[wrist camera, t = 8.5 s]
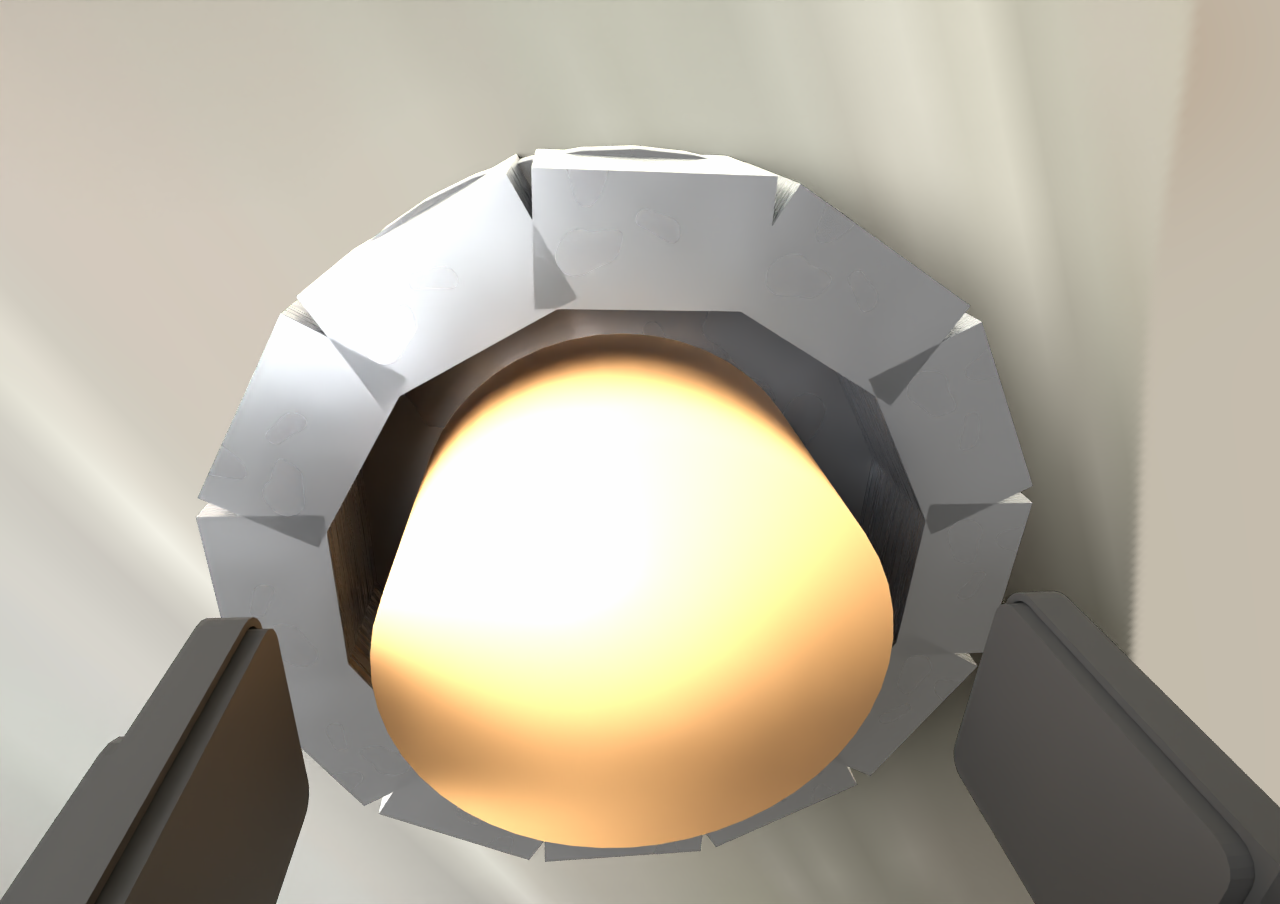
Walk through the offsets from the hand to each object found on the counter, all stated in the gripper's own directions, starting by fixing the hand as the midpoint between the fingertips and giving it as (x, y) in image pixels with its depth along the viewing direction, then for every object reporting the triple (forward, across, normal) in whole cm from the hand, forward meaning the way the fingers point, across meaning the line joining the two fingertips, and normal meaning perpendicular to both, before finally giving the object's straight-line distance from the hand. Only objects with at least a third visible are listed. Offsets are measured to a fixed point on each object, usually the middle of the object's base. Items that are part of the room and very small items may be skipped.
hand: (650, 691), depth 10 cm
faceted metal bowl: (+5, 0, 0) cm, 5 cm away
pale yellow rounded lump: (+4, 0, 0) cm, 4 cm away
